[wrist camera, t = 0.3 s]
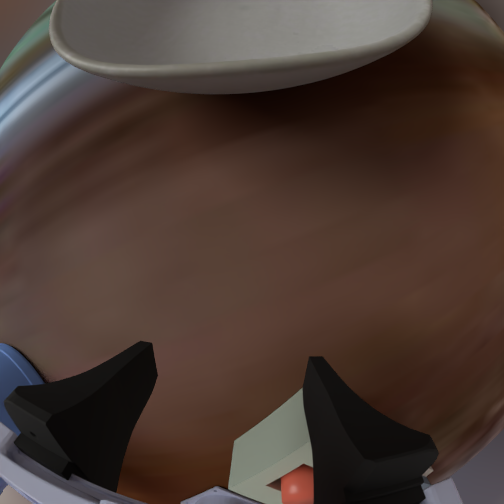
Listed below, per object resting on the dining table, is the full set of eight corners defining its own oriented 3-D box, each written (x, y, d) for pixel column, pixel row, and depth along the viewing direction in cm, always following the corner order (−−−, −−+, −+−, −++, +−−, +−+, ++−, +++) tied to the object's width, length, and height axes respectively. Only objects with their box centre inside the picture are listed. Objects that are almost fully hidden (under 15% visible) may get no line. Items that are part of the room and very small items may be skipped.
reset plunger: (298, 480, 18) (302, 510, 14) (271, 469, 18) (272, 501, 14) (327, 463, 18) (335, 494, 14) (300, 451, 18) (306, 484, 14)
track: (382, 499, 24) (394, 527, 18) (234, 440, 23) (228, 489, 16) (432, 463, 24) (449, 489, 17) (303, 387, 22) (315, 436, 15)
